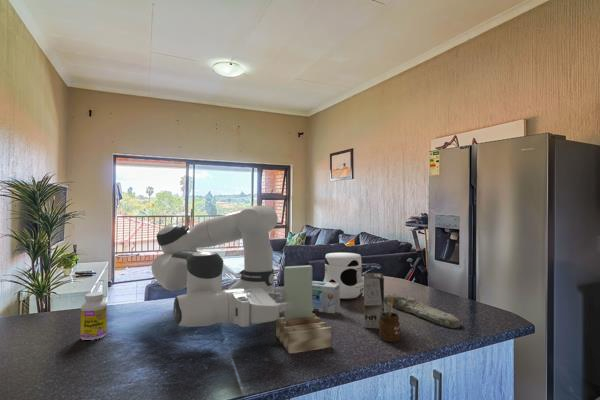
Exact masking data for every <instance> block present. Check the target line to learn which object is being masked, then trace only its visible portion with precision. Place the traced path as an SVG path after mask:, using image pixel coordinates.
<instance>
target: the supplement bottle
mask: <svg viewBox="0 0 600 400" xmlns="http://www.w3.org/2000/svg"><path fill="white" fill-rule="evenodd" d="M104 296H105V295H104V292H102V291H94V292H93V291H92V292H88V293H86V294H85V295H84V300H85V302H84V303H82V304H81V306H80V339H81V340H82V341H84V340H91V341H96V340H95V339H97V340H99V338H100V339H102V338H104V337H106V336H107V331H108V330H107V329H108V327H107V325H108V324H107V323H108V322H107V321H108V320H107V319H108V303H107V301H105V300H103V299H104Z"/></svg>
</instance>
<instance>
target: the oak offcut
mask: <svg viewBox="0 0 600 400" xmlns="http://www.w3.org/2000/svg"><path fill="white" fill-rule="evenodd" d="M316 328H321V327H320V326H319V325H311V326H303V327H296V328H294V331H301V330H308V329H316Z"/></svg>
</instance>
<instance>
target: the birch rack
mask: <svg viewBox="0 0 600 400" xmlns="http://www.w3.org/2000/svg"><path fill="white" fill-rule="evenodd" d="M313 316H316V313H312V317H313ZM318 318H319V323H312V324H305V325H297V326H289V327H286V322H284V316H282V317H279V318H278V319H277V320H275V321H276V322H275V327H276V328H275V336H276V337H277V339H278V340H279V342H280V343H281V344H282V346H283V347H284V348H285V350H286V351H287V352H288V354H297V353H303V352H304V353H305V352H309V351H315V350H322V349H327V348H329V349H330V348H333V346H332V341H333V339H332V335H333V334H332V333H333V332H332V328H333V327H331V326H327V323H326V321H322V322H321V317H318ZM311 325H319V326H320V327H321V328H316V329H308V330H301V331H294V328H296V327H303V326H311Z"/></svg>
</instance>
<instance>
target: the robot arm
mask: <svg viewBox="0 0 600 400" xmlns="http://www.w3.org/2000/svg"><path fill="white" fill-rule="evenodd" d="M278 220H279V219H278V214H277V212H276V211H275V210H274V209H273V208H271V207H270V206H267V205H250V206H247V207H245V208H243V209H242V210H240V211H239V210H238V211H236V212H235V211H234V212H230V213H227V214H224V215H220V216H217V217H213V218H210V219H206V220H204V221H201V222H199V223H197V224H194V225H193V226H191V227H189V226H188V225H183V224H181V223H171V224H168V225H166V226H164V227H163V228H162V229H160V230H159V231H158V233H156V241H157V244H158V246H160V248H161V251H162V252H163V254H162V253H161V254H159V255H158V256H156V257H155V258H154V259H153V261H152V263H151V268H150V270H151V272H152V275H153V277H154V279H155V281H157V283H158V284H159V285H160V286H161V287H162V288H164V289H165V290H168V291H171V292H172V291H173V292H174V291H176V292H177V291H181V290H183V289H185V288H186V293H183V294H179V295H177V296H175V298H174V301H173V315H174V316H173V317H174V322H175V323H176V325H178V326H179V327H188V328H189V327H193V328H194V327H208V326H212V325H214V324H224V325H225V324H235V325H236V326H237V325H238V327H241V328H246V327H247V328H248V327H249V326H250V324H252V325H258V324H265V323H269V322H270V323H271V322H274V321H276V320H277V319H278V318H280V313H282V312H283V313H284V311H285V310H289V309H291V308H292V303H291V302H289V301H288V302H284V301H283V302H282V303H279V302H277V301H281V300H282V298H283V295H282V293H281V292H275V290H274V287H275V286H274V283H275V270H274V267H273V266H274V264H273V262H274V261H273V260H274V257H273V256H274V255H273V254H274V253H273V252H274V249H273V247H272V243H271V239H270V233H269V232H271V231H272V230H273V229H274V228H275V227H276V225H277V224H278ZM239 240H240V241H241V240H242V244H243V252H244V253H243V256H244V257H243V259H244V261H243V262H244V265H243V266H244V267H243V268H244V269H242V270H241V271H238V275H239V276H240V277H239V279H238V280H237V281H236V282H235V283H233V284H232V285H231V286H229V287H228V288H227V289H222V286H223V285H222V284H223V283H222V282H223V269H224V268H223V267H224V259H223V258H222V257H221V256H220V254H218V252H215V251H214V252H213V251H210V250H204V251H203V250H202V251H198V249H203V248H212V247H216V246H220V245H223V244H228V243H231V242H235V241H239Z"/></svg>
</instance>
